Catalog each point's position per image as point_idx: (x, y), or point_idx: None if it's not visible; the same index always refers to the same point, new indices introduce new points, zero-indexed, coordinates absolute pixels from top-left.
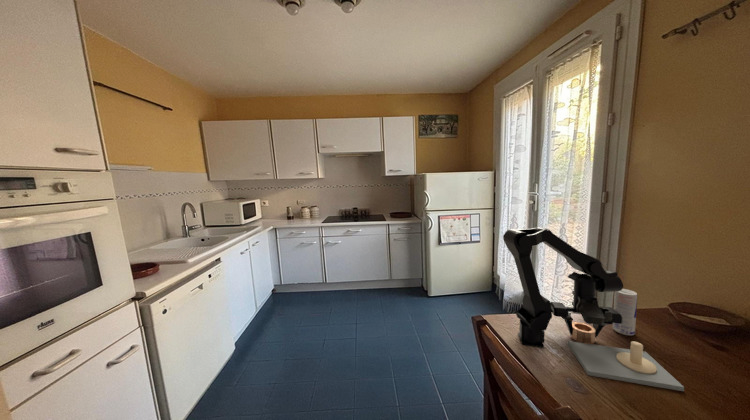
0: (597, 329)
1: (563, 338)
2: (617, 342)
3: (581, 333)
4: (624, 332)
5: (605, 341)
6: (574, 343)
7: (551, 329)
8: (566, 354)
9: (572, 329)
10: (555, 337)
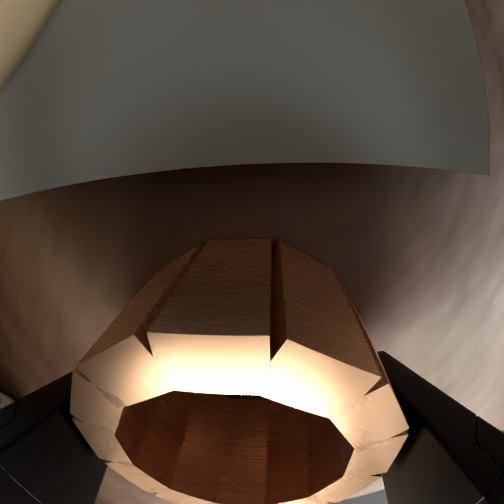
0: (41, 415)
1: (449, 284)
2: (17, 329)
3: (319, 325)
4: (2, 405)
5: (68, 332)
6: (441, 123)
7: (454, 393)
8: (488, 11)
9: (403, 399)
10: (500, 277)
